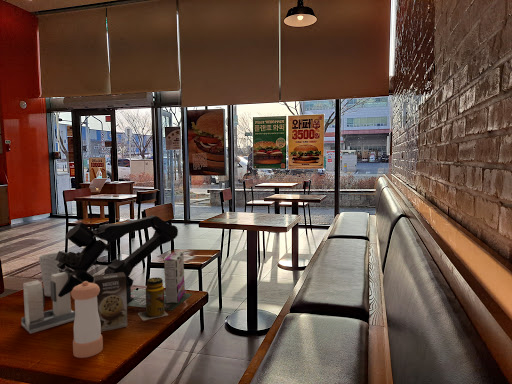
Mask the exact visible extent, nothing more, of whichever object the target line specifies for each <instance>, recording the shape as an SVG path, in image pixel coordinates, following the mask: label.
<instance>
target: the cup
mask: <svg viewBox="0 0 512 384" xmlns="http://www.w3.org/2000/svg"><path fill="white" fill-rule="evenodd" d="M57 254H58V252H56V253H54V252H53V253H47V254H43V255H40V256H39V257H38V258H39V265H40V271H41V279H42V287H43V288H44V297H51V287H50V281H52V280H51V275H52V274H57V273H60V272H59V269H60V268H58V267H57V264H58V263H59V262H58V261H57V260H55V259H56V257H57ZM60 270H61V269H60Z"/></svg>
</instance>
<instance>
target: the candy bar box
mask: <svg viewBox="0 0 512 384" xmlns="http://www.w3.org/2000/svg"><path fill="white" fill-rule="evenodd" d="M163 262H164V263H163V267H164V269H163V271H164V284H165V285H164V293H165V303H166V304H177V303H180V301H181V299H182V297H183V296H184V295H185V293H186V290H185V289H186V288H185V263H184V252H183V251H182V252H181V251H180V252H175V251H174V252H171V253H170V254H169V255H167V256H166V258H164V260H163Z"/></svg>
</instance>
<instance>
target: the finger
mask: <svg viewBox="0 0 512 384" xmlns="http://www.w3.org/2000/svg"><path fill="white" fill-rule="evenodd" d="M51 280H52V281H50V287H51V296H50V300H51V301H52V309H53V313H54V314H55V315H56V316H60V315H64V314H67V313H71V310H72V303H71V292H69V293H68V294H66V295H64V296H62V297H59V296H58V294H59V293H60V291H61V290H62V288H63V287H64V285H65V284H66V282H67V281H68V274H67V273H65V272H62V273H57V274H52V275H51Z"/></svg>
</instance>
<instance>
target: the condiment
mask: <svg viewBox="0 0 512 384" xmlns="http://www.w3.org/2000/svg"><path fill="white" fill-rule="evenodd" d="M163 280H164V279H162V277H150V278H148V279H147V280H146V288H145V311H139V312H137V316H139V317H140V318H141V320H142V321H149V320H152V319H157V318H163V317H167V316H169V313H168V312H166V311H165V307H166V306H165V285H163V284H164V282H163Z"/></svg>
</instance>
